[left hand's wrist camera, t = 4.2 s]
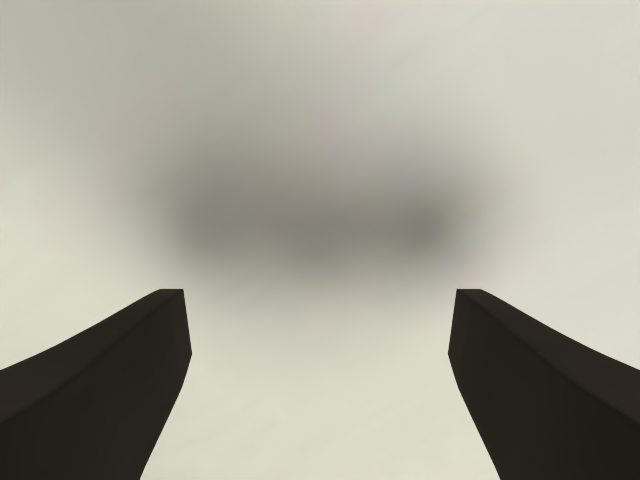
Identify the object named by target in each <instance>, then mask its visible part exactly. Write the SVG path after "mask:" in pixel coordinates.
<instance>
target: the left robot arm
mask: <svg viewBox="0 0 640 480" xmlns="http://www.w3.org/2000/svg"><path fill="white" fill-rule="evenodd" d="M191 356H192V350H191V342H190V335H189V328H188V320H187V313H186V306H185V298H184V291H183V289H159V290H157V291H154V292H152V293H150V294H148V295H147V296H145V297H143V298H141V299H139V300H138V301H136V302H134V303H132V304H131V305H129V306H127V307H125V308H124V309H122V310H120V311H118V312H117V313H115V314H113V315H111V316H110V317H108V318H106V319H104V320H103V321H101V322H99V323H97V324H96V325H94V326H92V327H90V328H88V329H86V330H84V331H82V332H80V333H79V334H77V335H75V336H73V337H71V338H69V339H67V340H65V341H63V342H62V343H60V344H58V345H56V346H54V347H52V348H50V349H47V350H45V351H43V352H41V353H39V354H37V355H35V356H32V357H30V358H28V359H25V360H23V361H21V362H19V363H16V364H14V365H12V366H9V367H7V368H4V369H2V370H0V480H140V477H141V475H142V473H143V470H144V468H145V466H146V464H147V461H148V459H149V457H150V455H151V453H152V451H153V449H154V447H155V444H156V442H157V440H158V438H159V436H160V434H161V432H162V430H163V427H164V425H165V423H166V421H167V419H168V417H169V415H170V412H171V410H172V408H173V406H174V404H175V402H176V399H177V397H178V395H179V393H180V391H181V388H182V385H183V382H184V379H185V376H186V373H187V370H188V366H189V363H190V359H191ZM448 356H449V359H450V363H451V366H452V370H453V373H454V376H455V379H456V382H457V385H458V388H459V391H460V393H461V395H462V397H463V399H464V402H465V404H466V406H467V408H468V410H469V412H470V415H471V417H472V419H473V421H474V423H475V425H476V427H477V430H478V432H479V434H480V436H481V438H482V440H483V442H484V444H485V447H486V449H487V451H488V453H489V455H490V457H491V459H492V461H493V464H494V466H495V468H496V470H497V473H498V475H499V477H500V480H640V370H638V369H636V368H634V367H631V366H629V365H627V364H624V363H622V362H620V361H617V360H615V359H613V358H610V357H608V356H606V355H604V354H601V353H599V352H597V351H595V350H593V349H591V348H589V347H587V346H585V345H583V344H581V343H579V342H577V341H575V340H573V339H571V338H569V337H567V336H565V335H563V334H561V333H559V332H558V331H556V330H554V329H552V328H550V327H548V326H547V325H545V324H543V323H541V322H539V321H538V320H536V319H534V318H532V317H531V316H529V315H527V314H525V313H524V312H522V311H520V310H518V309H517V308H515V307H513V306H511V305H510V304H508V303H506V302H505V301H503V300H501V299H499V298H497V297H496V296H494V295H492V294H490V293H488V292H486V291H483V290H481V289H457V291H456V298H455V306H454V313H453V320H452V328H451V335H450V342H449V350H448Z"/></svg>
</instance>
